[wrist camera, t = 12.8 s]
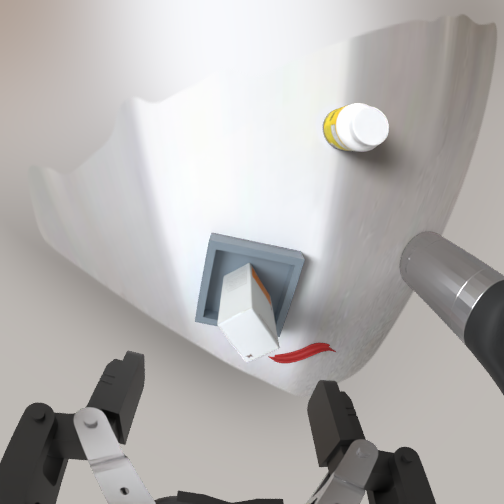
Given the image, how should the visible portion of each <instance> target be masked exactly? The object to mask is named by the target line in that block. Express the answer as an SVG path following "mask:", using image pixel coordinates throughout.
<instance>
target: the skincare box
mask: <svg viewBox="0 0 504 504" xmlns="http://www.w3.org/2000/svg"><path fill="white" fill-rule="evenodd" d="M217 325H218V327H219V328H220V330H221V331H222V332H223V334H224V335H225V336H226V338H227V339H228V341H229V342H230V344H231V345H232V347H233V348H234V349H235V350H236V351H237V352H238V354H239V355H240V356H241V357H242V359H243V360H244V361H245V362H246V363H248V362H250V361H253V360H255V359H257V358H259V357H262V356H264V355H266V354H269V353H271V352H273V351H275V350H277V349H279V342H278V336H277V331H276V325H275V319H274V313H273V307H272V301H271V296H270V294H269V293H268V291H267V290H266V288H265V287H264V285H263V283H262V282H261V280H260V279H259V277H258V275H257V273H256V272H255V270H254V268H253V267H252V265H251V263H248V264H246V265H244V266H242V267H240V268H238V269H237V270H235V271H233V272H231V273H229V274H227V275H225V276H224V278H223V285H222V292H221V300H220V308H219V315H218V322H217Z"/></svg>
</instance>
